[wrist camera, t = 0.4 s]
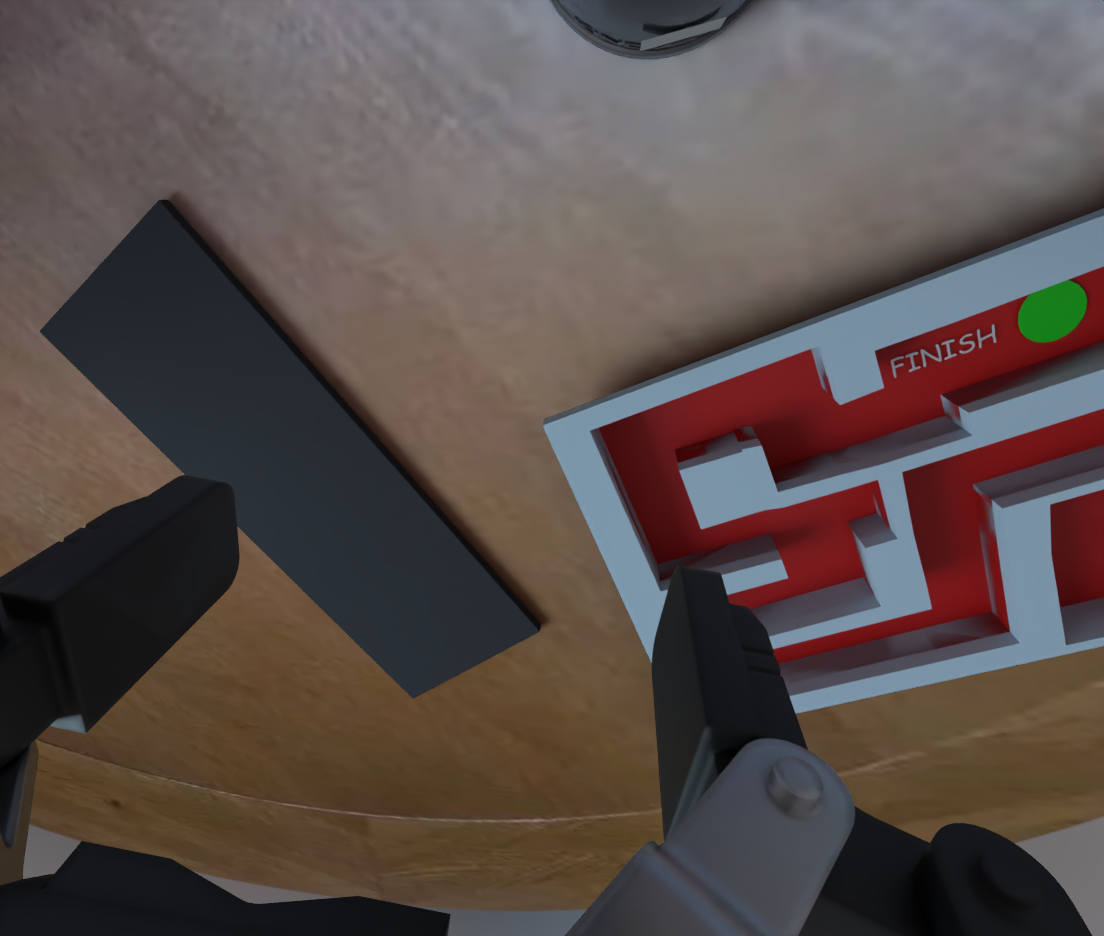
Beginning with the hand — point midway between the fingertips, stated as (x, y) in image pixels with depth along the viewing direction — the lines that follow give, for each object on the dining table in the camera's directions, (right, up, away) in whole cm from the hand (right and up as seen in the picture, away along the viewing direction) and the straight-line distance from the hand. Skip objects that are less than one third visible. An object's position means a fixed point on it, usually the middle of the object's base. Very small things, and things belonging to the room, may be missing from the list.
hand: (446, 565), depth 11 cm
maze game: (+22, +2, +18) cm, 28 cm away
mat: (-11, +1, +22) cm, 24 cm away
